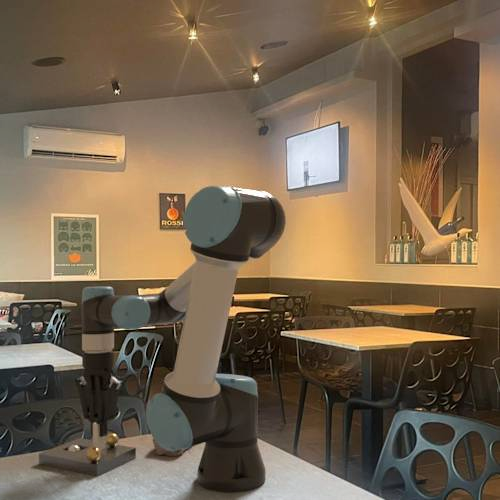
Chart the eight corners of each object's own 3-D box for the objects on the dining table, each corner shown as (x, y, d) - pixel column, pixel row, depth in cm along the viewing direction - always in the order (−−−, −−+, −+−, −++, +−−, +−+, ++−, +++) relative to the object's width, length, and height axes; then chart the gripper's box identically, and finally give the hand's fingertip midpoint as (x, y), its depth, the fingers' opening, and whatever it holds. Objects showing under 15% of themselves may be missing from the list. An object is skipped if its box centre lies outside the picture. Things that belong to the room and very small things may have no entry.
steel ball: (85, 450, 151) (78, 440, 152) (76, 454, 148) (68, 444, 149) (79, 459, 152) (71, 449, 153) (69, 462, 149) (62, 452, 150)
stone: (198, 441, 164) (162, 441, 165) (197, 420, 163) (160, 421, 164) (189, 462, 151) (150, 463, 152) (188, 439, 150) (148, 440, 151)
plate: (135, 458, 150) (135, 447, 150) (97, 476, 138) (97, 465, 138) (79, 447, 158) (79, 438, 158) (38, 463, 146) (38, 453, 146)
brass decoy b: (121, 445, 152) (121, 432, 152) (112, 449, 149) (112, 435, 149) (111, 443, 154) (111, 430, 154) (102, 447, 151) (102, 434, 151)
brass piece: (103, 460, 141) (103, 446, 141) (94, 464, 138) (94, 450, 138) (93, 458, 143) (93, 444, 143) (83, 462, 140) (83, 448, 140)
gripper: (129, 350, 147) (130, 448, 147) (88, 347, 153) (88, 442, 153) (109, 354, 141) (110, 457, 140) (66, 351, 146) (67, 450, 146)
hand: (99, 449), depth 146 cm, fingers closed
